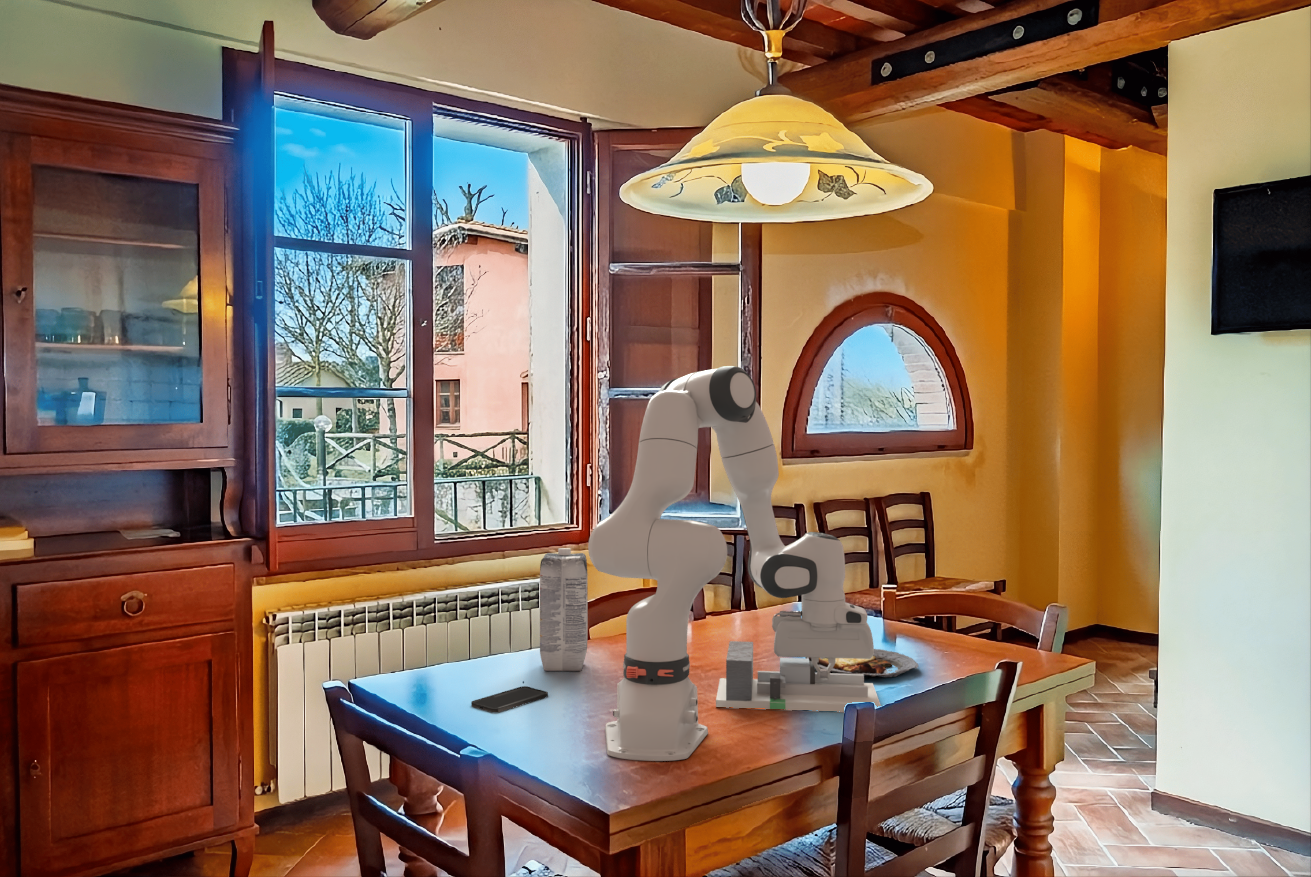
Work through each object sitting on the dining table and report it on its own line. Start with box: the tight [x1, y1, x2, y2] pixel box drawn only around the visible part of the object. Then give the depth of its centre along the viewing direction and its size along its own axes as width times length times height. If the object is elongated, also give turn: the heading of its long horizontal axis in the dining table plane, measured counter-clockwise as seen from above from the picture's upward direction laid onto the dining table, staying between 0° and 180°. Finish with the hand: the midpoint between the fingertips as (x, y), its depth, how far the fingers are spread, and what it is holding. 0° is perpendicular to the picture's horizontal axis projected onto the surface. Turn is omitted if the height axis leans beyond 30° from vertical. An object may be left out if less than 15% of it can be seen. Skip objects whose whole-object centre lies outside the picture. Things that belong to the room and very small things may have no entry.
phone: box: [470, 685, 549, 713], centre depth 201 cm, size 8×1×15 cm
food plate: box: [804, 648, 919, 679], centre depth 227 cm, size 25×23×4 cm
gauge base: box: [715, 670, 882, 713], centre depth 203 cm, size 16×32×4 cm, turn 83°
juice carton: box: [539, 547, 588, 672], centre depth 227 cm, size 9×10×27 cm
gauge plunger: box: [779, 657, 816, 688], centre depth 203 cm, size 12×7×5 cm, turn 173°
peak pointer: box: [770, 674, 780, 700], centre depth 198 cm, size 5×2×4 cm, turn 173°
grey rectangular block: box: [725, 640, 754, 701], centre depth 204 cm, size 16×5×8 cm, turn 173°
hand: (823, 678), depth 205 cm, fingers closed
